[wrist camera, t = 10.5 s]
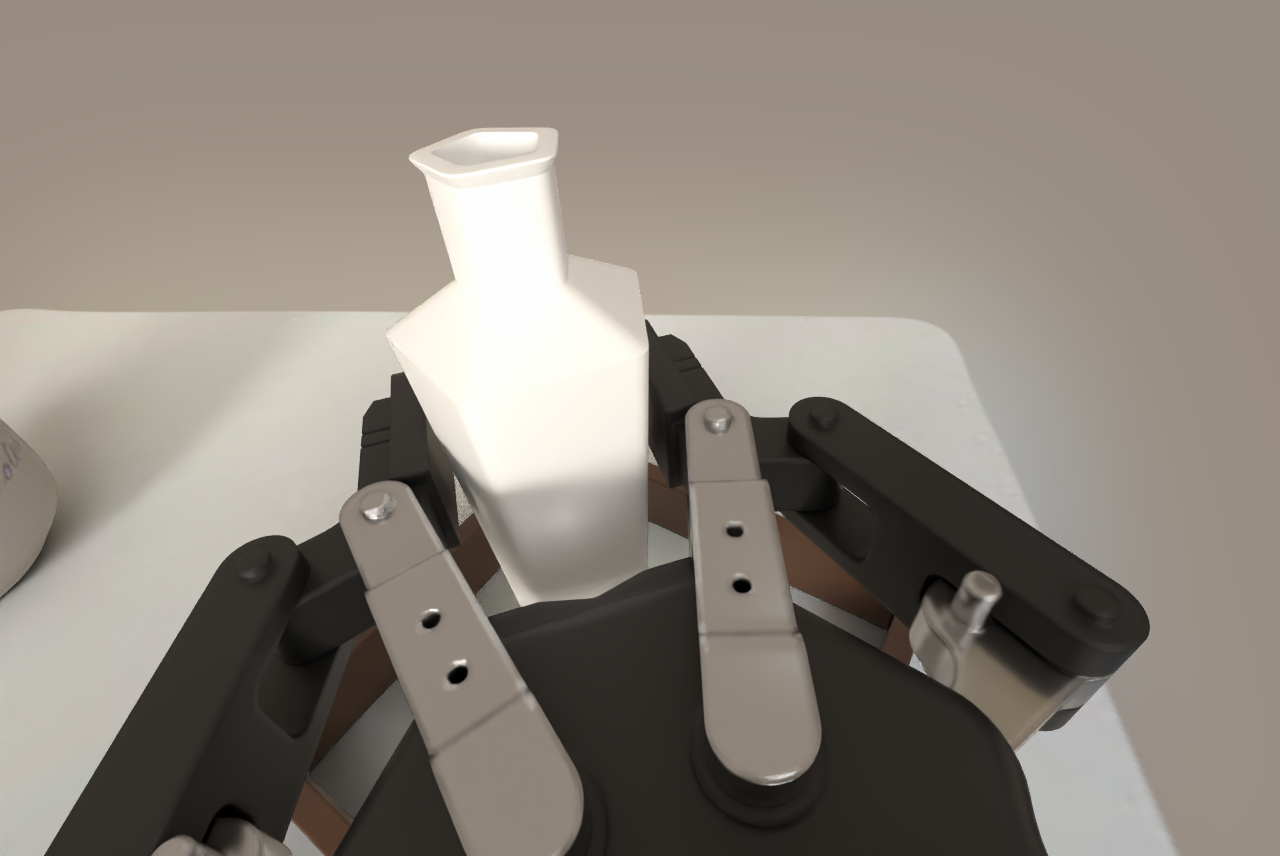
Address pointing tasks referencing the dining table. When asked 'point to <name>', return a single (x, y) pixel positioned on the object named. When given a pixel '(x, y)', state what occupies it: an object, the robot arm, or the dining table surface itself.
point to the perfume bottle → (532, 371)
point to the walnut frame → (478, 564)
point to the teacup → (22, 506)
